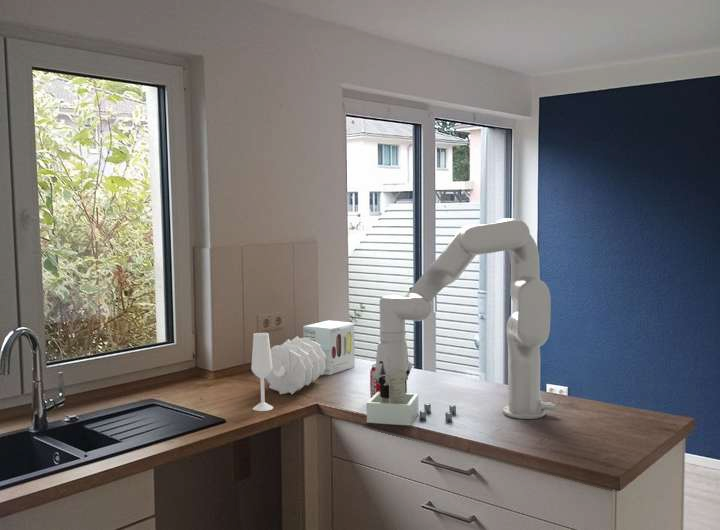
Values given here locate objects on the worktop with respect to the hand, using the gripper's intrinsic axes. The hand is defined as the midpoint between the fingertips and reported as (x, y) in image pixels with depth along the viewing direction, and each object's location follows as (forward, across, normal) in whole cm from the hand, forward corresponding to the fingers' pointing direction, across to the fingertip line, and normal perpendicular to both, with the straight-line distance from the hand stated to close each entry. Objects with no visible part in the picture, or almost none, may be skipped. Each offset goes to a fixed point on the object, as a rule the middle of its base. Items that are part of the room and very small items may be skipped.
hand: (393, 394), depth 218 cm
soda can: (+7, -10, -16) cm, 20 cm away
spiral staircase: (+7, -2, -50) cm, 51 cm away
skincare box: (+5, 0, 0) cm, 5 cm away
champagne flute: (+7, +21, -38) cm, 44 cm away
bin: (+7, 0, 0) cm, 7 cm away
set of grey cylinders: (+7, -10, +9) cm, 15 cm away
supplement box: (+7, -31, -63) cm, 70 cm away
